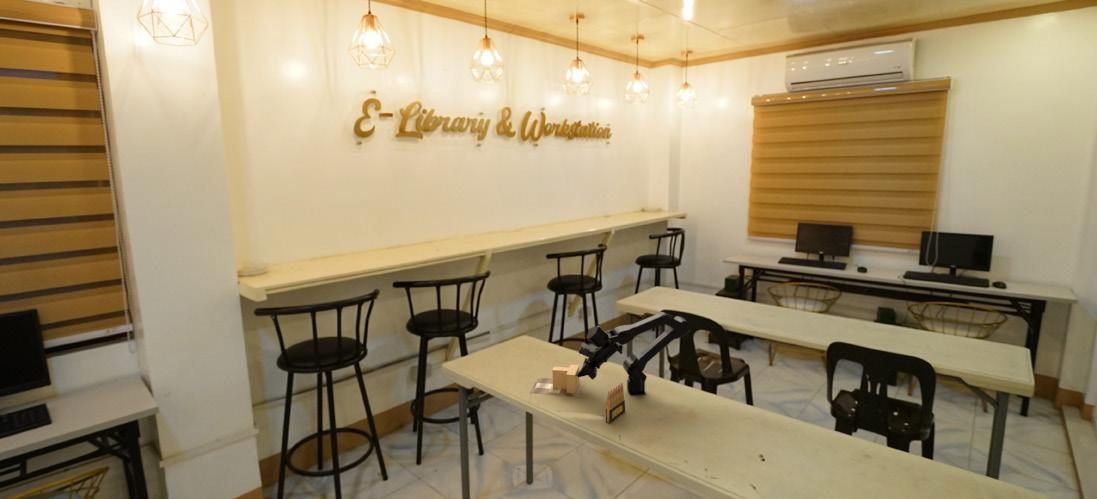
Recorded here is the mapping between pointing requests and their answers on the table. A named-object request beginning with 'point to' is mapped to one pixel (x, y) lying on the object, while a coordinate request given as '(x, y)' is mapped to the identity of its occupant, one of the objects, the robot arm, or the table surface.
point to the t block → (566, 378)
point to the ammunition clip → (615, 404)
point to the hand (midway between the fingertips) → (577, 376)
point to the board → (547, 388)
